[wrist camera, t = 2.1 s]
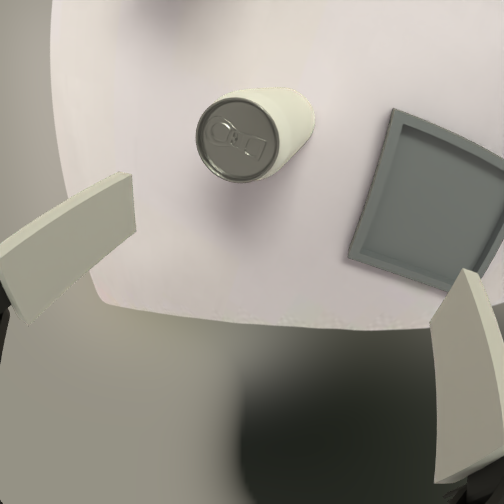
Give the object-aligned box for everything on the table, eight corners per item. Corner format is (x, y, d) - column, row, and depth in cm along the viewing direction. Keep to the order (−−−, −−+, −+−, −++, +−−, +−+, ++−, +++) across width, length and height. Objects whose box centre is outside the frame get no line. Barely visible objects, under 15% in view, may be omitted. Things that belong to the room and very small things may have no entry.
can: (264, 77, 25) (205, 77, 16) (326, 104, 25) (303, 115, 15) (243, 133, 29) (179, 165, 20) (299, 160, 29) (263, 206, 19)
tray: (393, 108, 22) (395, 109, 21) (523, 171, 19) (530, 176, 18) (348, 249, 32) (347, 257, 30) (464, 289, 29) (467, 299, 27)
